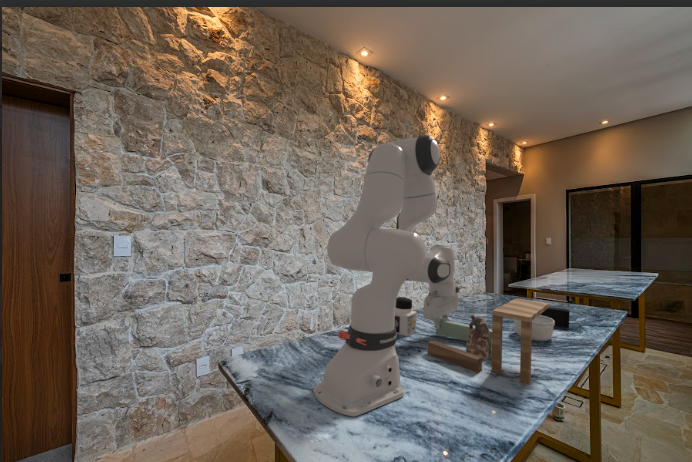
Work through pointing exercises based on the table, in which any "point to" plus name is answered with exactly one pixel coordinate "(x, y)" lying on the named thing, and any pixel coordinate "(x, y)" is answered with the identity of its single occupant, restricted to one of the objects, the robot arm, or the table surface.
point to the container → (404, 317)
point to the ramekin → (538, 328)
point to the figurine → (478, 338)
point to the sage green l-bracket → (458, 331)
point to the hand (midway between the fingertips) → (440, 326)
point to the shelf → (526, 314)
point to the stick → (455, 356)
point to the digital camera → (558, 316)
